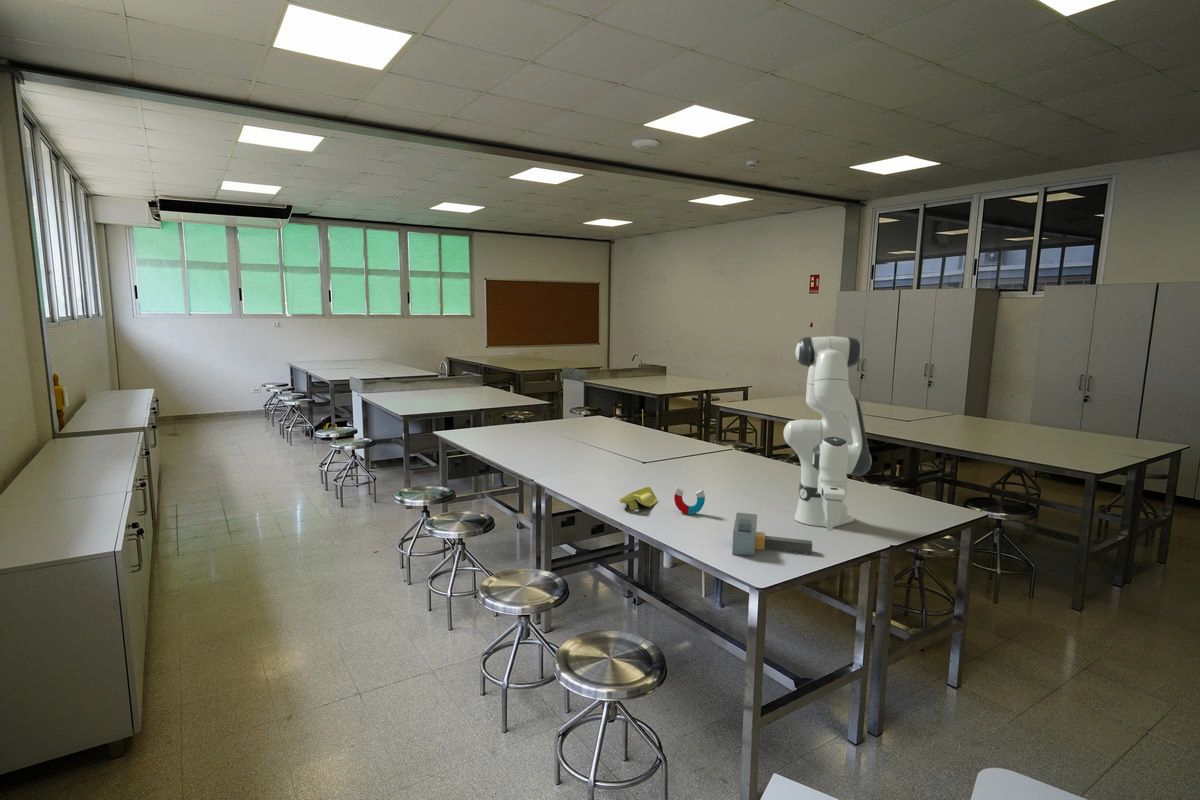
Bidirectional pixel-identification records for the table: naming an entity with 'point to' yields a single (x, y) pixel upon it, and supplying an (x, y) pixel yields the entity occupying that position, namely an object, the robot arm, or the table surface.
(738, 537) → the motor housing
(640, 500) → the plastic component
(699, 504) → the magnet
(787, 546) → the plug
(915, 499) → the table surface
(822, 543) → the table surface
